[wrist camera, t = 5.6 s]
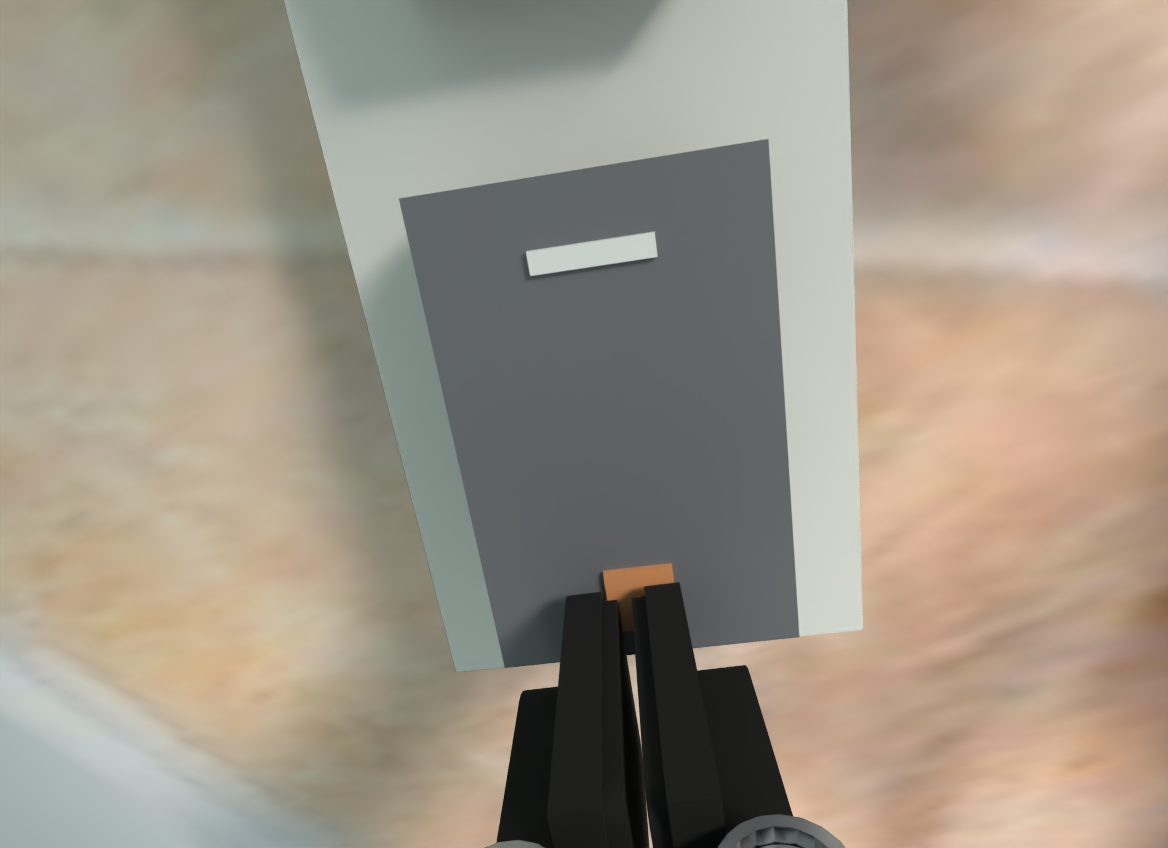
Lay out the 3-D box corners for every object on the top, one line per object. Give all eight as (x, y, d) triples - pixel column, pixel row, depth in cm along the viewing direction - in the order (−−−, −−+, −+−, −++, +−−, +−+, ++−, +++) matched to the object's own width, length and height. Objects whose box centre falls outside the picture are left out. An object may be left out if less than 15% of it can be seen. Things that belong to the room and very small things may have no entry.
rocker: (429, 194, 10) (396, 199, 9) (743, 144, 10) (770, 138, 8) (517, 608, 13) (503, 672, 11) (776, 579, 12) (801, 641, 11)
